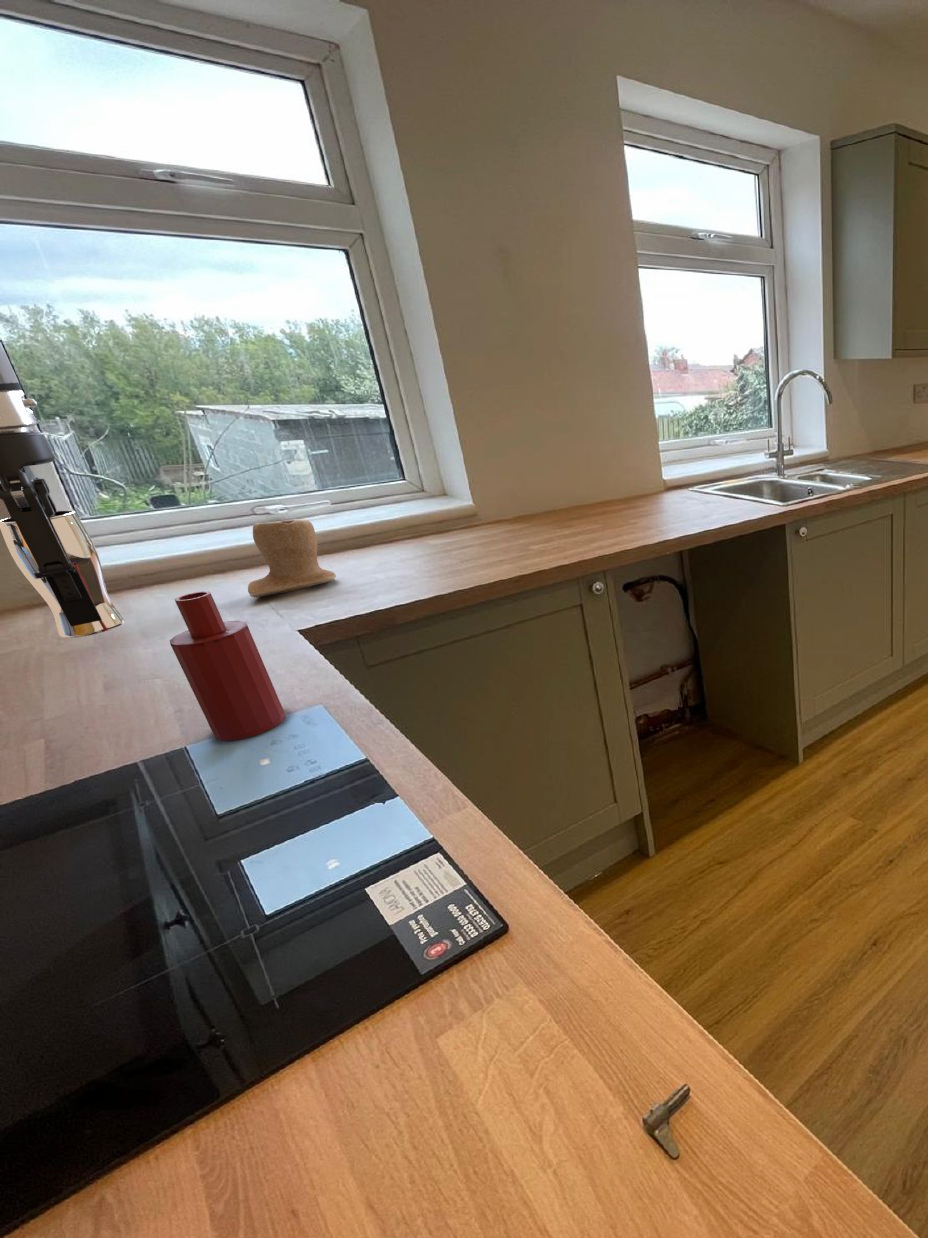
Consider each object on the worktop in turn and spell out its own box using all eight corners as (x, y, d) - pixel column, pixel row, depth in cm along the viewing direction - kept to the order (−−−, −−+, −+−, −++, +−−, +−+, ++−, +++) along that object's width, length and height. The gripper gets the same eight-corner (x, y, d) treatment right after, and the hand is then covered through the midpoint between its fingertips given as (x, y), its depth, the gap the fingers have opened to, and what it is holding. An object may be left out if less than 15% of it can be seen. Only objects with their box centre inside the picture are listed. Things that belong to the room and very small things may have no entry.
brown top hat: (333, 573, 156) (310, 509, 150) (340, 585, 147) (316, 518, 141) (250, 590, 147) (222, 523, 141) (253, 604, 138) (223, 533, 133)
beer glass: (77, 624, 90) (21, 513, 84) (142, 616, 92) (91, 507, 86) (40, 643, 84) (-23, 525, 78) (110, 634, 86) (53, 518, 80)
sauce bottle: (217, 747, 87) (152, 612, 80) (213, 727, 92) (151, 597, 85) (289, 724, 92) (234, 594, 84) (281, 705, 97) (228, 581, 89)
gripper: (35, 433, 74) (128, 625, 83) (45, 424, 87) (125, 592, 96) (-71, 441, 70) (39, 645, 78) (-44, 430, 82) (48, 607, 91)
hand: (86, 616), depth 87 cm, fingers closed on beer glass, 6 cm apart
